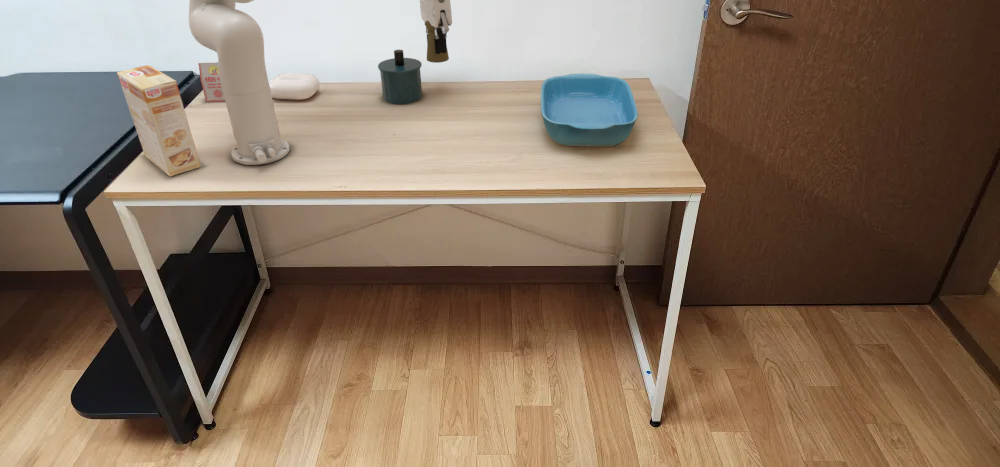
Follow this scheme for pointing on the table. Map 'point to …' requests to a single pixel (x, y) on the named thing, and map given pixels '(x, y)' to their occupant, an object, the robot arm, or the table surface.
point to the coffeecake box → (159, 119)
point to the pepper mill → (431, 46)
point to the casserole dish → (588, 109)
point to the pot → (401, 87)
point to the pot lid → (399, 64)
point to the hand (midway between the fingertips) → (437, 50)
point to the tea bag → (211, 82)
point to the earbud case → (294, 86)
